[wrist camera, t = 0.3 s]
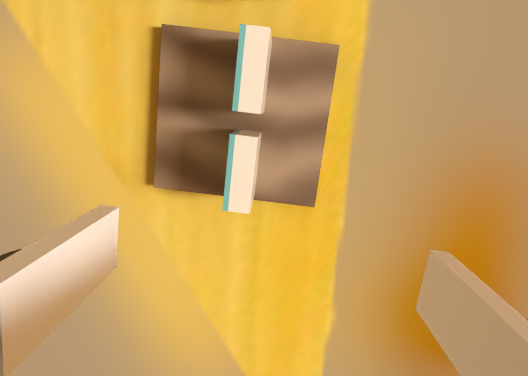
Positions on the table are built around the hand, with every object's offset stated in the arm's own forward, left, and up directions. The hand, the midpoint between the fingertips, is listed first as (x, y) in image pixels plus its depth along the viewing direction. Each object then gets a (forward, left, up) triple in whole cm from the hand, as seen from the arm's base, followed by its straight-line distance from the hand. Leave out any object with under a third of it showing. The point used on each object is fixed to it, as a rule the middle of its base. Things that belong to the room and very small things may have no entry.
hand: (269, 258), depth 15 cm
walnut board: (-4, -4, -26) cm, 27 cm away
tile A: (-9, -3, -25) cm, 26 cm away
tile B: (0, -3, -25) cm, 25 cm away
